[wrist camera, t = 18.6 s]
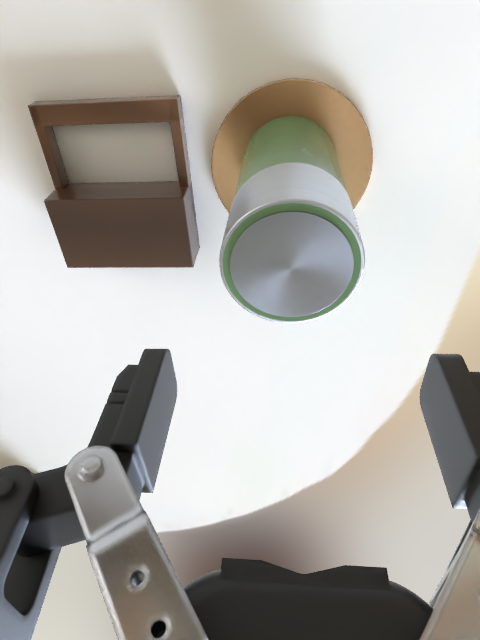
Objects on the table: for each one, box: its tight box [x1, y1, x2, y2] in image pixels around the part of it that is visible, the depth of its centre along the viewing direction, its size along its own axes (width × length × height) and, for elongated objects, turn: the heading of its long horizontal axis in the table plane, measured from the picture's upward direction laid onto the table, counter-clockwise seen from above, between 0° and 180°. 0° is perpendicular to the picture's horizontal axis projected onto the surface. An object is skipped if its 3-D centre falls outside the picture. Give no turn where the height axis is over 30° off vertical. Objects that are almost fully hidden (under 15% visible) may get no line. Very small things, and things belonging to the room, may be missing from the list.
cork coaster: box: [212, 79, 373, 213], centre depth 27 cm, size 10×10×1 cm
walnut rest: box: [28, 95, 200, 268], centre depth 28 cm, size 10×9×3 cm
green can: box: [219, 116, 365, 323], centre depth 22 cm, size 13×6×13 cm
